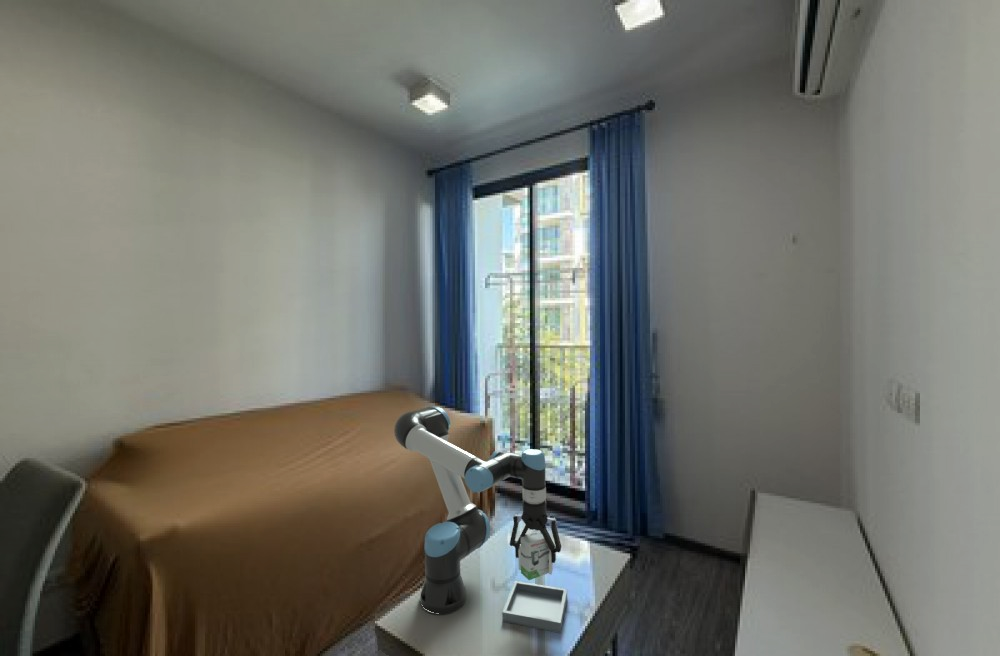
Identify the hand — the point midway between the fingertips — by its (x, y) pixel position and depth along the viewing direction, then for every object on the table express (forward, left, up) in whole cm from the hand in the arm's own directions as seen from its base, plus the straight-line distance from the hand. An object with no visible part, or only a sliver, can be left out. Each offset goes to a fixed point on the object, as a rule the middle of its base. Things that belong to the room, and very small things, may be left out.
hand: (535, 569), depth 131 cm
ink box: (0, 0, -1) cm, 1 cm away
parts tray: (0, 0, -13) cm, 13 cm away
